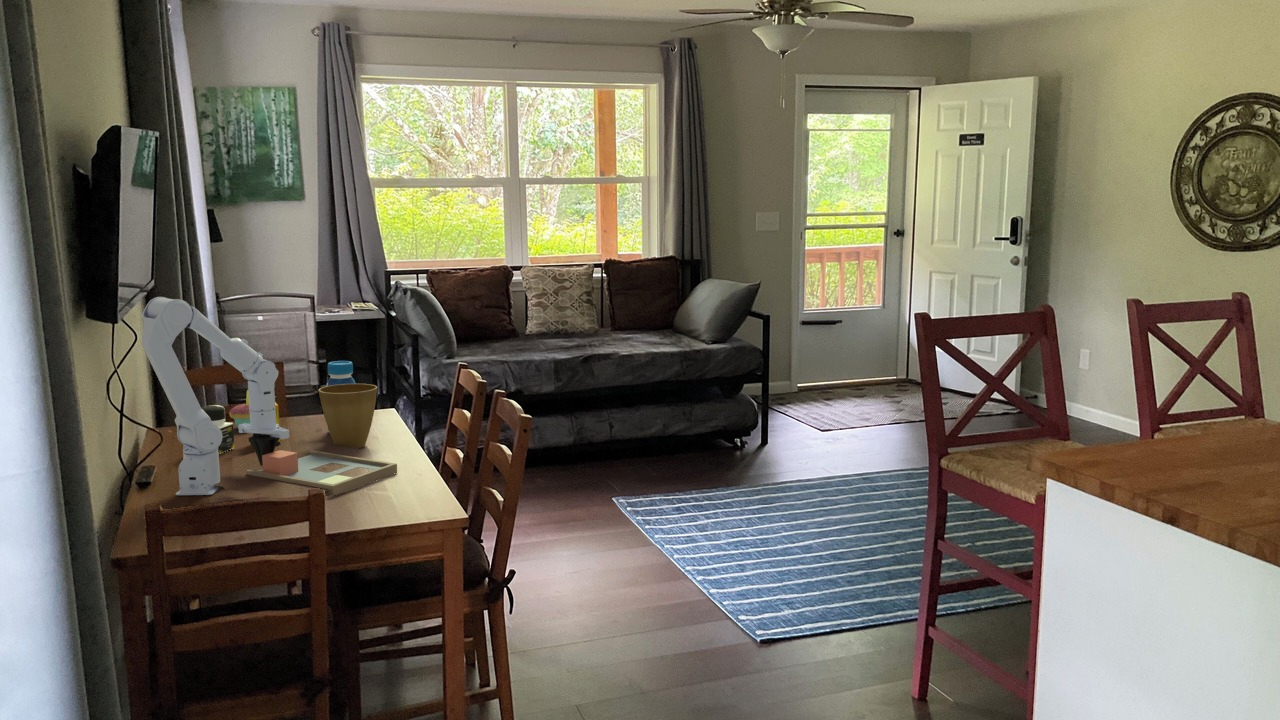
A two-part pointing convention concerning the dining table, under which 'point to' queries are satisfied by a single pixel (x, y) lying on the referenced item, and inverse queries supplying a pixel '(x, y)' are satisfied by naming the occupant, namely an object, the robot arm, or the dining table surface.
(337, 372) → the beverage bottle
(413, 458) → the dining table surface
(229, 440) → the medicine bottle
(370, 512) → the dining table surface
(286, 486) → the dining table surface
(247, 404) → the cupcake
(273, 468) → the block
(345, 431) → the plant pot
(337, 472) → the shallow rimmed tray
